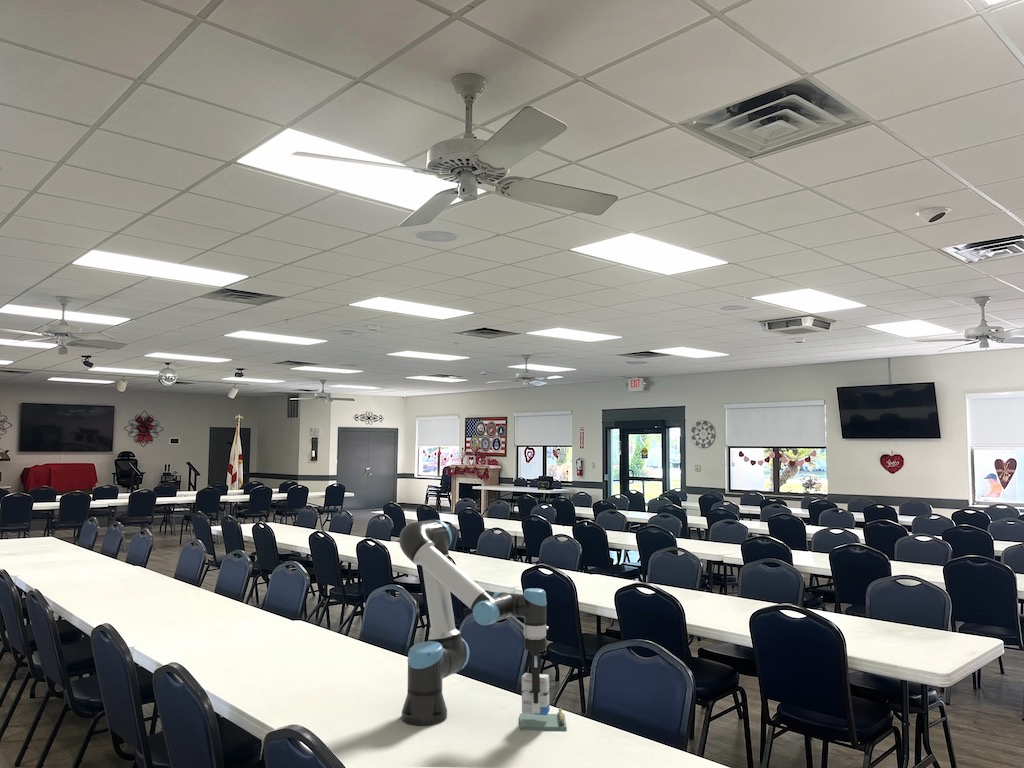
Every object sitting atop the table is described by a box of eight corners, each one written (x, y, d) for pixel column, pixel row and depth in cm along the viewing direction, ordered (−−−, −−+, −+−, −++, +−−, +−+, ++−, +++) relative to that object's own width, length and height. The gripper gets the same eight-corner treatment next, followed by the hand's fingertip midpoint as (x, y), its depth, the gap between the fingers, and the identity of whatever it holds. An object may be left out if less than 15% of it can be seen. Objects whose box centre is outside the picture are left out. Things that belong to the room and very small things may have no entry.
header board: (519, 729, 231) (519, 718, 231) (519, 716, 243) (519, 705, 243) (566, 730, 231) (566, 718, 231) (564, 717, 243) (564, 705, 243)
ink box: (550, 710, 238) (549, 673, 240) (546, 715, 234) (546, 678, 235) (525, 708, 241) (524, 672, 242) (521, 713, 236) (521, 676, 237)
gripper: (547, 644, 230) (548, 719, 228) (545, 630, 249) (545, 700, 247) (524, 644, 231) (524, 719, 228) (523, 630, 249) (524, 700, 247)
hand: (535, 709), depth 237 cm, fingers closed on ink box, 6 cm apart
